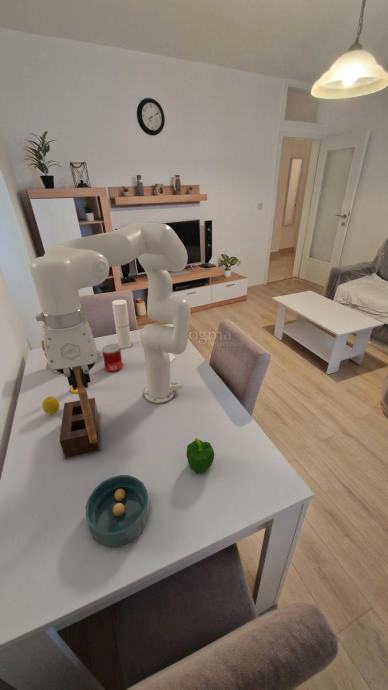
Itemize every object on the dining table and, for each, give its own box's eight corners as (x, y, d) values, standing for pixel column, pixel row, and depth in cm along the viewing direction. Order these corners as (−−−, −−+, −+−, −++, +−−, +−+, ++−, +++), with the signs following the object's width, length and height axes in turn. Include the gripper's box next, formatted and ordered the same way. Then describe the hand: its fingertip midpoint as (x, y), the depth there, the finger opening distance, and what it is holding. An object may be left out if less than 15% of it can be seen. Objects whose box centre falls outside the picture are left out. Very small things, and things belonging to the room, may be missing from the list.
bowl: (144, 482, 81) (142, 468, 78) (154, 536, 68) (152, 522, 65) (89, 497, 77) (86, 483, 74) (89, 557, 64) (84, 544, 61)
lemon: (55, 419, 102) (50, 403, 98) (42, 417, 103) (36, 401, 99) (64, 409, 107) (59, 393, 103) (51, 407, 108) (46, 391, 104)
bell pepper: (216, 475, 83) (218, 452, 78) (189, 480, 82) (190, 457, 77) (209, 452, 90) (210, 430, 85) (184, 456, 89) (184, 434, 84)
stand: (98, 413, 105) (94, 397, 101) (99, 450, 90) (95, 433, 86) (68, 419, 102) (64, 403, 98) (64, 458, 88) (59, 441, 84)
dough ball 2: (124, 513, 70) (123, 500, 72) (112, 517, 69) (111, 503, 71) (125, 515, 73) (124, 502, 74) (113, 518, 72) (112, 505, 74)
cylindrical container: (115, 347, 149) (109, 304, 136) (121, 341, 155) (115, 299, 143) (128, 348, 148) (123, 305, 135) (133, 342, 154) (128, 300, 142)
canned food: (125, 366, 133) (123, 346, 128) (113, 374, 127) (110, 354, 122) (114, 361, 137) (111, 342, 131) (102, 369, 131) (98, 349, 125)
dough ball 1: (123, 503, 74) (129, 492, 76) (114, 497, 73) (120, 486, 75) (118, 502, 76) (125, 491, 78) (110, 496, 75) (116, 486, 77)
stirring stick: (97, 437, 77) (81, 363, 66) (97, 442, 76) (80, 368, 64) (89, 438, 77) (72, 365, 66) (89, 444, 75) (71, 369, 64)
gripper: (18, 329, 53) (43, 402, 62) (104, 319, 58) (115, 388, 67) (25, 314, 59) (47, 382, 69) (102, 306, 64) (112, 371, 73)
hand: (80, 385), depth 68 cm, fingers closed on stirring stick, 2 cm apart
